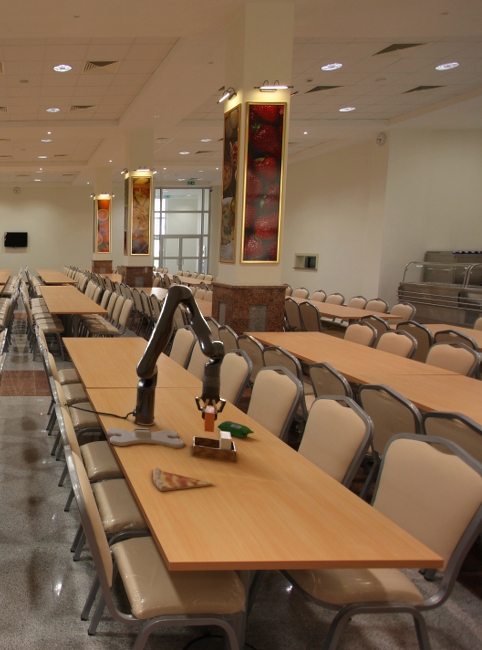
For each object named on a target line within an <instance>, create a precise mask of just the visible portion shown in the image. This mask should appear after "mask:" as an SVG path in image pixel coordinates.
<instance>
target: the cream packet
mask: <svg viewBox="0 0 482 650" xmlns="http://www.w3.org/2000/svg"><path fill="white" fill-rule="evenodd" d="M219 439H220V441H219V449H226V450H231V441H232V435H231V434H230V432H224V431H221V430H220V431H219Z"/></svg>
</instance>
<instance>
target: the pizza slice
mask: <svg viewBox="0 0 482 650" xmlns="http://www.w3.org/2000/svg"><path fill="white" fill-rule="evenodd" d="M152 481H153V483H154V485H155V486H156V488H157V489H158V490H159V491H160V492H165V491H172V490H174V491H175V490H182V489H191V488H199V487H209V486H213V485H214V483H213V482H209V481H205V480H201V479H197V478H192V477H189V476H185V475H180V474H176V473H171V472H167V471H164V470H161V468H159V467H155V468H153V472H152Z"/></svg>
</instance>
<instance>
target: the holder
mask: <svg viewBox="0 0 482 650" xmlns="http://www.w3.org/2000/svg"><path fill="white" fill-rule="evenodd" d="M106 434H107V436H109V437H110V438H109V442H110V444H112V445H114V446H117V447H126V446H129V445H130V446H131V445H136V444H138V445H139V444H148V445H149V444H150V445H151V444H152V445H162V446H166V447H169V448H173V449H174V448H175V449H180V448H181V449H182V448H184V447H185V445H186V444H185V441H184V440H182V439H180V438H179V433H178V432H176V431H174V430H171V429H162V430H158V431H151V430H150V428H149V427H148V428H147V427H146V428H145V427H136V428H134V430H127V429H122V428H118V427H111V428H108V429H107V430H106Z"/></svg>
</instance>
